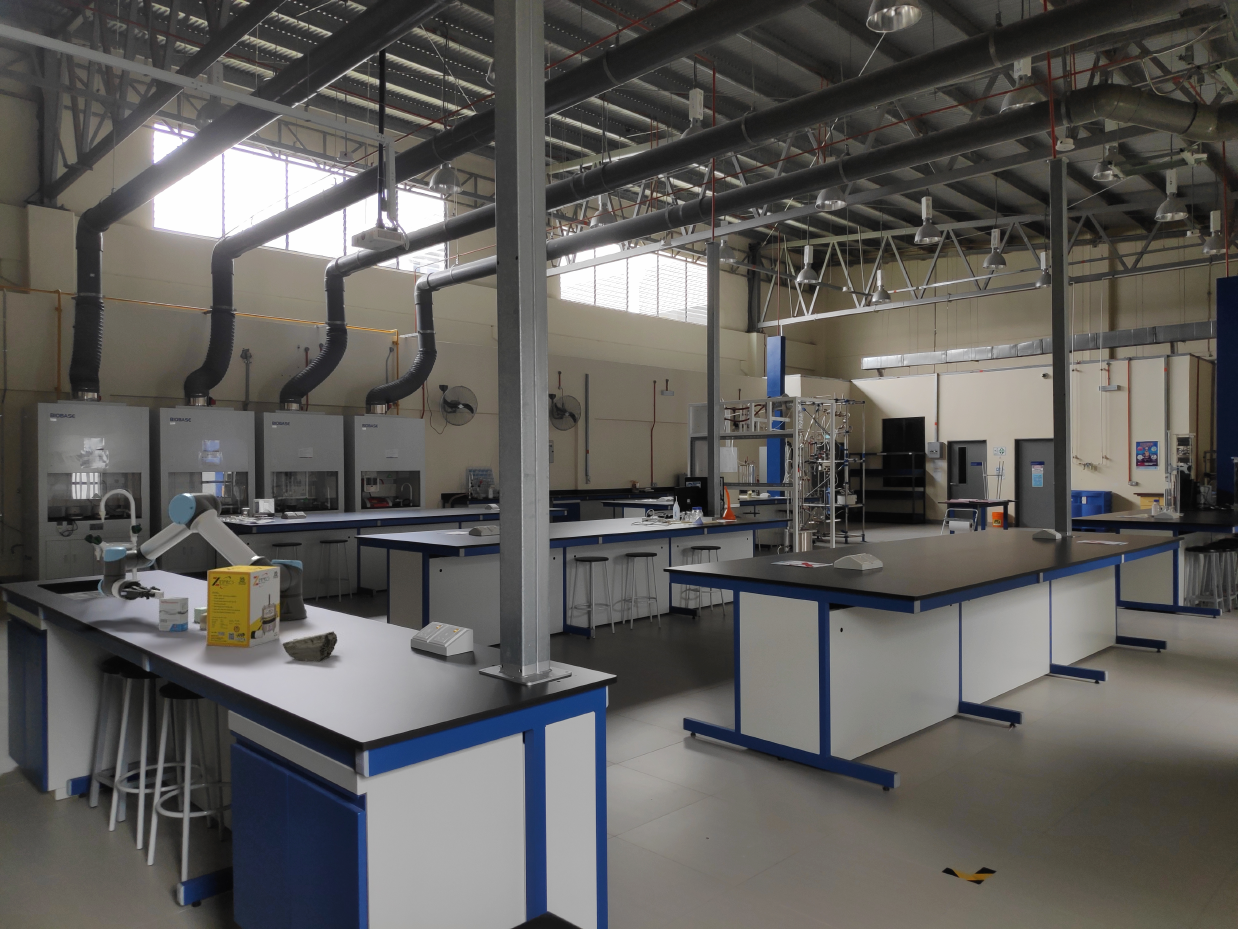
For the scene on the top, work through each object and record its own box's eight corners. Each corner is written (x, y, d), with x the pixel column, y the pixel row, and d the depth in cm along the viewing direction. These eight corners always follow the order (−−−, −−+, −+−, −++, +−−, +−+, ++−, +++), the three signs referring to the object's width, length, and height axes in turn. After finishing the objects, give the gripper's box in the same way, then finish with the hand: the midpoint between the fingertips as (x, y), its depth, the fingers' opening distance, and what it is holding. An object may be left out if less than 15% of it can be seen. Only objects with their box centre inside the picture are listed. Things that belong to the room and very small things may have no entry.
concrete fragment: (275, 654, 248) (295, 619, 261) (293, 676, 254) (312, 641, 266) (316, 645, 245) (334, 610, 257) (333, 668, 250) (350, 633, 263)
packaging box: (238, 635, 287) (239, 565, 288) (279, 638, 284) (280, 566, 284) (206, 645, 271) (207, 570, 272) (249, 647, 268) (250, 572, 268)
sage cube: (213, 620, 316) (213, 607, 316) (201, 622, 312) (201, 609, 312) (206, 619, 319) (206, 606, 319) (194, 621, 315) (194, 608, 315)
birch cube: (220, 626, 305) (220, 613, 305) (212, 628, 300) (213, 615, 300) (207, 626, 305) (207, 612, 305) (199, 628, 300) (200, 615, 300)
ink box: (188, 629, 298) (189, 597, 299) (180, 631, 294) (180, 599, 294) (167, 628, 299) (167, 596, 299) (158, 631, 294) (158, 598, 295)
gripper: (144, 597, 320) (178, 603, 308) (109, 601, 309) (144, 607, 296) (145, 578, 320) (179, 583, 308) (110, 581, 309) (144, 587, 296)
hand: (162, 595), depth 302 cm, fingers closed
